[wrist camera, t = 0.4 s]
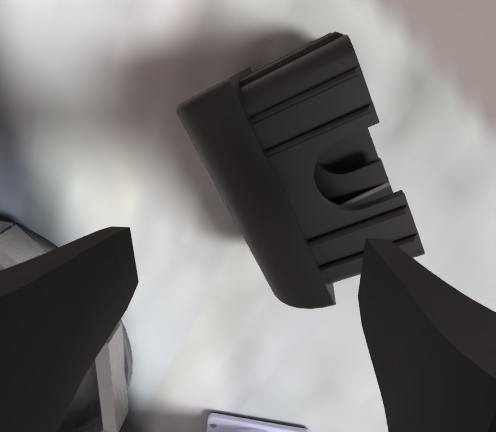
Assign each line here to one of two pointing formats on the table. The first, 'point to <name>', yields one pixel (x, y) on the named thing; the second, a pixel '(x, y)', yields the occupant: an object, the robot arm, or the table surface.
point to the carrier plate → (104, 366)
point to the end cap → (301, 168)
